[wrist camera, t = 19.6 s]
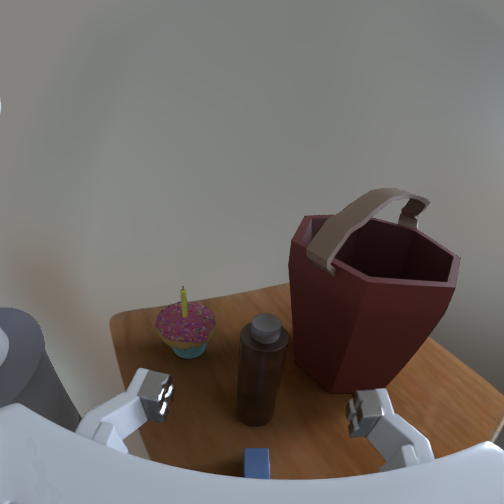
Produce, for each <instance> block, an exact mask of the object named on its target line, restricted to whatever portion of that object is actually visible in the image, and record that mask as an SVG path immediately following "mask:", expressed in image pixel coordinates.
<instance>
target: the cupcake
mask: <svg viewBox="0 0 504 504" xmlns="http://www.w3.org/2000/svg"><path fill="white" fill-rule="evenodd" d="M155 323H156V324H155V327H156V332H157V334H158V335H159V337H160V338H161V339H162V340H163V341H164V342H165V343H166V344H167V345H169V346H171V347H172V349H173V351H174V352H175V354H176V355H178V356H179V357H182V358H186V359H192V358H196V357H198V356H200V355H201V354H202V353H203V352H204V351H205V348H206V345H207V343H208V341H210V340H212V338H213V337H214V335H215V333H216V330H217V326H216V322H215V316H214V314H213V313H212V312H211V311H210V310H209V309H208V308H206V307H205V306H203V305H201V304H199V303H198V304H197V303H194V302H187V301H186V290H185V289H184V286H182V289H181V302H177V303H175V304H172V305H170V306H168V307H166V308H165V309H164V310H162V311H161V313H159V316H158V317H157V321H156V322H155Z"/></svg>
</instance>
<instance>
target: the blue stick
mask: <svg viewBox="0 0 504 504" xmlns="http://www.w3.org/2000/svg"><path fill="white" fill-rule="evenodd" d="M243 478H254V479H270V465H269V449H268V448H244V454H243Z"/></svg>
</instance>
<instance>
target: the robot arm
mask: <svg viewBox="0 0 504 504" xmlns="http://www.w3.org/2000/svg"><path fill="white" fill-rule="evenodd" d="M0 114H1V100H0ZM8 350H9V339H8V337H7V335H6V334H5V332H4V331H3V330H2V329H1V328H0V367H1V365H2V364H3V362H4V361H5V359H6V357H7V354H8ZM171 383H172V375H169V374H164V373H160V372H156V371H152V370H148V369H144V368H139V369H138V370H137V371H136V373H135V375H134V377H133V379H132V381H131V383H130V385H129V387H128V389H127V391H126V393H125V392H122V393H120V394H119V395H117V396H115V397H113V398H112V399H110V400H108V401H106V402H105V403H103V404H101V405H99V406H97V407H96V408H93V409H92V410H90V411H88V412H86V413H85V415H84V416H83V418H82V420H81V422H80V424H79V425H78V427H77V429H76V431H75V433H74V432H72V431H70V430H68V429H66V428H63V427H61V426H59V425H57V424H55V423H54V422H52V421H50V420H48V419H46V418H44V417H42V416H41V415H39V414H37V413H35V412H34V411H32V410H30V409H29V408H27V407H25V406H24V405H22V404H19V403H14V404H10V405H7V406H4V407H2V408H0V504H504V450H502V449H501V448H499V447H498V446H497V445H495V444H494V443H492V442H490V441H485V442H482V443H480V444H477V445H475V446H473V447H470V448H467V449H465V450H462V451H459V452H457V453H454V454H451V455H448V456H445V457H442V458H438V459H435V458H434V455H433V452H432V449H431V446H430V443H429V440H428V439H427V438H426V437H424V436H423V435H422V434H421V433H420V432H418V431H417V430H416V429H415V428H414V427H412V426H411V425H410V424H409V423H407V422H406V421H405V420H404V419H403V418H401V417H400V416H399V415H398V414H395V413H394V410H393V407H392V404H391V401H390V398H389V396H388V393H387V390H386V389H385V388H383V389H364V390H355V391H354V392H353V394H352V399H351V400H349V401H348V404H347V407H346V418H347V420H348V421H349V422H350V424H349V426H348V429H349V435H350V438H355V437H366V438H367V439H368V440H369V441H370V442H371V443H372V445H373V446H374V447H375V448H376V449H377V450H378V452H379V453H380V454H381V455H382V456H383V457H384V458H385V460H386V461H387V462H386V463H385V464H384V465H383V466H382V467H381V468H380V469H379V473H374V474H367V475H360V476H352V477H343V478H331V479H314V480H271V479H254V478H242V477H233V476H224V475H217V474H210V473H204V472H199V471H193V470H188V469H183V468H179V467H174V466H170V465H166V464H162V463H158V462H154V461H150V460H147V459H143V458H140V457H136V456H133V455H130V454H128V452H129V451H128V449H127V447H126V445H125V444H124V442H123V441H122V440H123V439H125V438H126V437H127V436H128V435H130V434H131V433H132V432H134V431H135V430H136V429H137V428H139V427H140V426H141V425H143V424H144V423H145V422H146V421H148V419H149V420H153V421H158V422H162V423H166V420H167V417H168V414H169V409H168V407H169V406H170V405H172V402H173V398H174V386H173V385H172V384H171Z"/></svg>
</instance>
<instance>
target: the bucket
mask: <svg viewBox="0 0 504 504" xmlns="http://www.w3.org/2000/svg"><path fill="white" fill-rule="evenodd" d="M403 198H410V199H409V201H408V203H407V204H406V206H405V207H404V208H403V209H402V213H401V214H400V217H399V222H398V224H395V223H391V222H387V221H384V220H380V219H376V218H372V217H373V216H374V215H375V214H377V213H378V212H379V211H381V210H382V209H383V208H384V207H386V206H387V205H389V204H390V203H391V202H393V201H396V200H400V199H403ZM429 204H430V202H429V201H428V200H427V199H426V198H423V197H421V196H418V195H415V194H412V193H410V192H407V191H404V190H400V189H396V188H381V189H375V190H371V191H369V192H368V193H366V194H364V195H363V196H361V197H360V198H358V199H357V200H355V201H354V202H352V203H351V204H349V205H348V206H347V207H346V208H344V209H343V210H342V211H341V212H340V213H338V214H336V215H314V216H304V218H303V220H302V222H301V224H300V226H299V227H298V229H297V231H296V233H295V235H294V237H293V238H292V240H291V248H290V256H289V264H288V267H289V280H290V293H291V308H292V323H293V339H294V358H295V362H296V363H297V364H298V365H299V366H300V367H301V368H303V369H304V370H305V371H306V372H307V373H308V374H309V375H310V376H311V377H312V378H314V379H315V380H316V381H317V382H318V383H319V384H320V385H321V386H323V387H324V388H325V389H326V390H327V391H328V392H329V393H353V392H354V391H355V390H364V389H383V388H385V387H386V386H387V385H388V384H389V383H390V382H391V381H392V380H393V378H394V377H395V376H396V375H397V374H398V373H399V372H400V371H401V369H402V368H403V367H404V366H405V365H406V364H407V362H408V361H409V360H410V359H411V358H412V356H413V355H414V354H415V353H416V352H417V350H418V349H419V348H420V347H421V345H422V344H423V343H424V341H425V340H426V339H427V337H428V336H429V335H430V333H431V332H432V331H433V329H434V328H435V327H436V325H437V324H438V322H439V321H440V319H441V318H442V317H443V315H444V314H445V312H446V310H447V308H448V305H449V303H450V300H451V298H452V296H453V293H454V291H455V288H456V283H457V277H458V271H459V266H460V259H461V258H459V257H458V256H457V255H455V254H454V253H452V252H451V251H450V250H448V249H447V248H445V247H444V246H442V245H440V244H439V243H437V242H436V241H434V240H433V239H431V238H430V237H428V236H426V235H425V234H424V233H422V232H420V231H419V230H418V215H419V214H420V213H421V212H422V211H424V210H425V209H426V208H427V206H428V205H429Z"/></svg>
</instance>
